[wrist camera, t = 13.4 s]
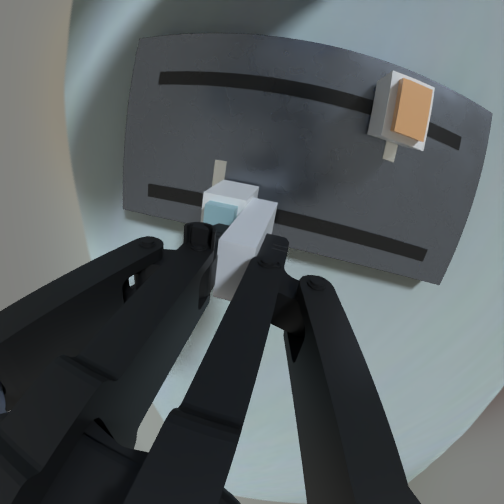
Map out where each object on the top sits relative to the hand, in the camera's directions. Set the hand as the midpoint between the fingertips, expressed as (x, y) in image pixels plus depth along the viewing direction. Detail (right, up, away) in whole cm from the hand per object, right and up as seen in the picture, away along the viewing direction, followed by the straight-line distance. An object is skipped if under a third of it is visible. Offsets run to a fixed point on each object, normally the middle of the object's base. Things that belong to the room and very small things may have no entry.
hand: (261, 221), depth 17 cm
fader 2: (+8, +7, -3) cm, 11 cm away
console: (+3, +6, +1) cm, 6 cm away
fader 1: (-1, +1, +2) cm, 3 cm away
